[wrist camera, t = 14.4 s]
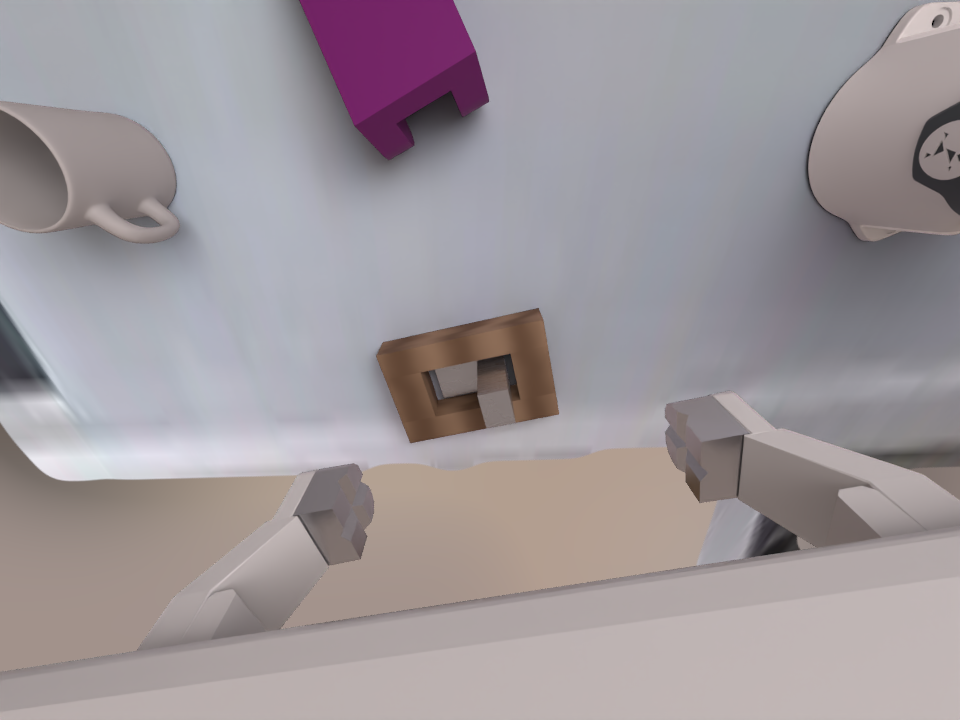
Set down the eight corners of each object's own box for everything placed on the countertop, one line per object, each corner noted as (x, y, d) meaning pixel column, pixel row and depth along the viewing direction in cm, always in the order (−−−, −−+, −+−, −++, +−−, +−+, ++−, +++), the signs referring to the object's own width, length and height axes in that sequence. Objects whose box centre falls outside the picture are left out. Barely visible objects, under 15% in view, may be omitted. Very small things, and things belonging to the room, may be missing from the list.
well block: (538, 308, 43) (543, 319, 40) (553, 397, 49) (559, 414, 46) (382, 342, 45) (376, 356, 42) (414, 425, 51) (410, 443, 47)
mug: (65, 169, 37) (-84, 173, 27) (99, 89, 34) (-53, 61, 24) (188, 258, 41) (97, 289, 31) (228, 192, 38) (142, 204, 28)
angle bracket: (502, 349, 46) (507, 389, 38) (508, 378, 48) (515, 422, 39) (435, 363, 46) (427, 405, 38) (444, 391, 48) (438, 437, 40)
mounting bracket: (322, -6, 36) (400, 174, 36) (252, -107, 28) (354, 126, 27) (411, -69, 34) (495, 120, 34) (366, -198, 26) (475, 51, 26)
